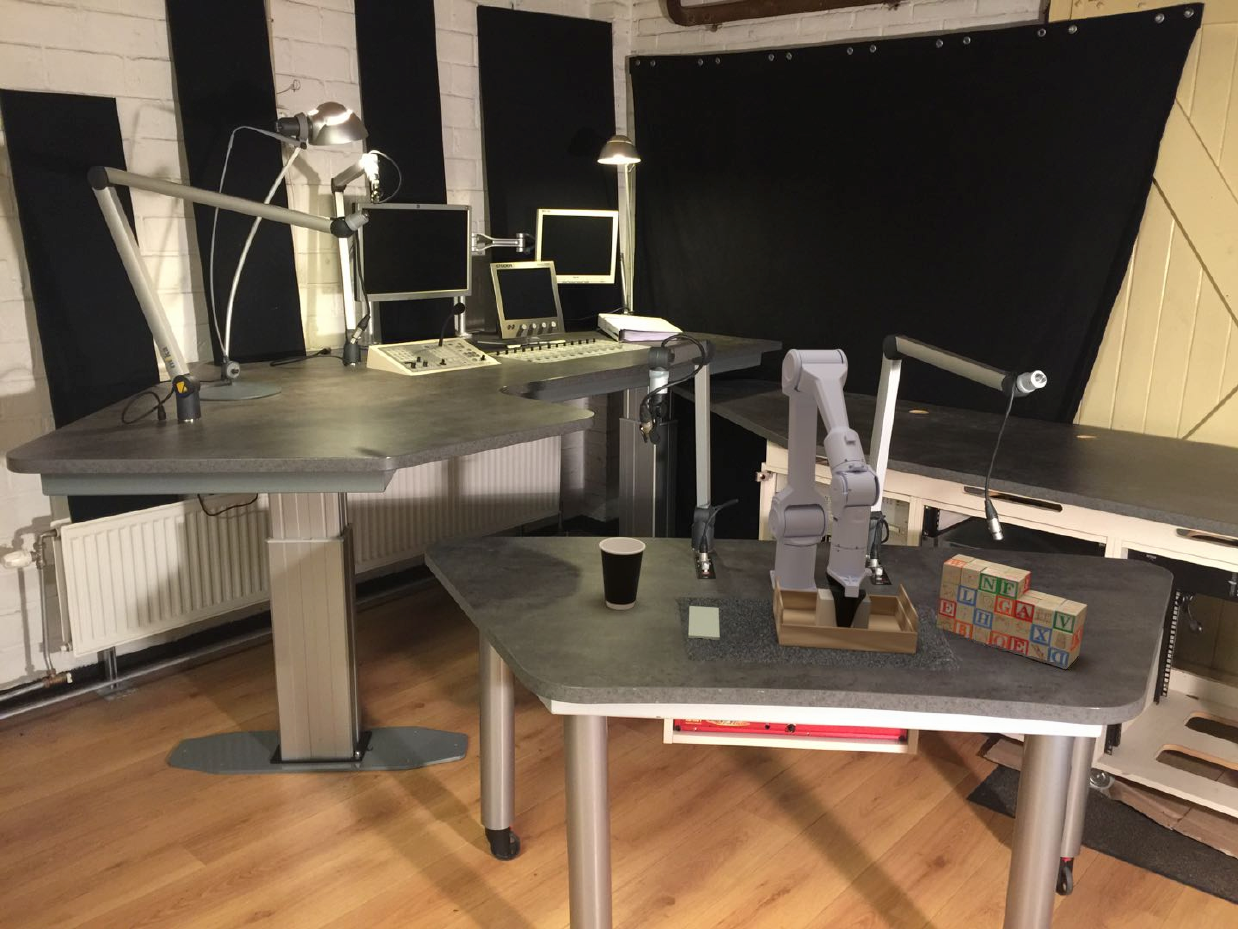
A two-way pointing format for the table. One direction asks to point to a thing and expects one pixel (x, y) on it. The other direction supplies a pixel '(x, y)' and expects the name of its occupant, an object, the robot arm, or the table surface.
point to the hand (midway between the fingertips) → (841, 621)
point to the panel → (704, 622)
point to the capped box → (827, 611)
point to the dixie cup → (621, 570)
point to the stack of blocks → (1008, 610)
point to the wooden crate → (885, 633)
